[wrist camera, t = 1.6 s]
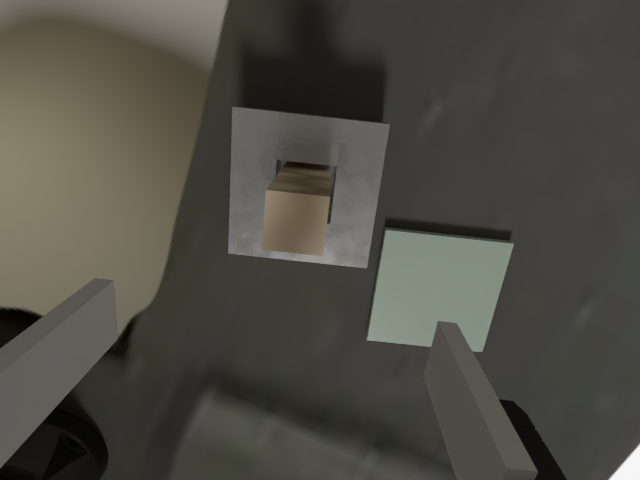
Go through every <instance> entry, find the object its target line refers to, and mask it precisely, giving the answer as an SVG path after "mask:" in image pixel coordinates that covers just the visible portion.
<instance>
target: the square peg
mask: <svg viewBox="0 0 640 480" xmlns="http://www.w3.org/2000/svg"><path fill="white" fill-rule="evenodd" d="M329 201H330V166H329V165H319V164H310V163H301V162H292V161H287V162H286V163H285V164H284V166H283V167H282V169H281V170H280V171H279V173H278V174H277V175H276V177H275V178H274V179H273V181H272V182H271V184H270V185H269V186H268V188H267V189H266V195H265V212H264V229H263V245H262V250H269V251H278V252H288V253H297V254H306V255H316V256H323V252H324V243H325V235H326V226H327V218H328V209H329Z"/></svg>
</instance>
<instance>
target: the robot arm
mask: <svg viewBox="0 0 640 480" xmlns="http://www.w3.org/2000/svg"><path fill="white" fill-rule="evenodd" d="M117 339H118V333H117V319H116V305H115V291H114V281H113V280H105V279H96V278H94V279H93V280H92V281H90V282H89V283H88V284H86V285H85V286H84V287H82V288H81V289H80V290H78V291H77V292H76V293H74V294H73V295H72V296H70V297H69V298H68V299H66V300H65V301H64V302H62V303H61V304H60V305H58V306H57V307H55V308H54V309H53V310H52V311H50V312H49V313H47V314H46V315H45V316H43V317H42V318H41V319H39V320H38V321H37V322H35V323H34V324H33V325H31V326H30V327H29V328H27V329H26V330H25V331H23V332H22V333H21V334H19V335H18V336H16V337H15V338H14V339H12V340H11V341H10V340H3V341H0V480H100V479H101V477H102V475H103V474H104V472H105V470H106V467H107V462H108V456H107V451H106V448H105V446H104V443H103V442H102V440H101V438H100V437H99V436H98V434H97V433H96V432H95V431H94V430H93V429H92V428H91V427H90V426H88V425H87V424H86V423H84V422H83V421H81V420H80V419H78V418H76V417H74V416H72V415H70V414H67V413H64V412H61V411H57V410H54V409H55V407H56V406H57V405H58V404H59V403H60V402H61V401H62V400H63V399H64V398H65V396H66V395H67V394H68V393H69V392H70V391H71V390H72V389H73V388H74V387H75V385H76V384H77V383H78V382H79V381H80V380H81V379H82V378H83V377H84V376H85V374H86V373H87V372H88V371H89V370H90V369H91V368H92V367H93V366H94V364H95V363H96V362H97V361H98V360H99V359H100V358H101V357H102V356H103V355H104V353H105V352H106V351H107V350H108V349H109V348H110V347H111V346H112V345H113V344H114V342H115V341H116V340H117ZM424 379H425V382H426V385H427V389H428V392H429V395H430V398H431V401H432V404H433V407H434V410H435V413H436V417H437V420H438V423H439V426H440V429H441V432H442V435H443V438H444V441H445V445H446V448H447V451H448V454H449V457H450V460H451V463H452V466H453V469H454V472H455V476H456V479H457V480H567V479H566V478H565V476H564V474H563V473H562V471H561V469H560V468H559V466H558V464H557V463H556V461H555V460H554V458H553V456H552V455H551V453H550V451H549V450H548V448H547V446H546V445H545V443H544V442H542V438H541V437H540V435H539V433H538V432H537V430H535V427H534V425H533V424H532V422H531V420H530V419H529V417H528V415H527V414H526V413H525V412H524V411H523V410H522V409H521V408H520V407H519V406H518V405H517V404H516V403H515V402H513V401H508V400H500V399H498V398H497V396H496V394H495V392H494V390H493V388H492V387H491V385H490V383H489V381H488V379H487V378H486V376H485V374H484V372H483V370H482V368H481V367H480V365H479V363H478V361H477V359H476V357H475V356H474V354H473V352H472V350H471V348H470V346H469V345H468V343H467V341H466V339H465V337H464V335H463V334H462V332H461V330H460V328H459V326H458V324H457V323H452V322H444V321H438V323H437V326H436V330H435V334H434V338H433V342H432V346H431V350H430V353H429V357H428V361H427V365H426V369H425V373H424Z"/></svg>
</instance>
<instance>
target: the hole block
mask: <svg viewBox="0 0 640 480" xmlns="http://www.w3.org/2000/svg"><path fill="white" fill-rule="evenodd" d="M389 126H390V124H388V123H385V122H381V121H372V120H363V119H354V118H345V117H336V116H327V115H318V114H309V113H300V112H291V111H282V110H274V109H265V108H256V107H247V106H237V107H232V141H231V177H230V212H229V248H228V253H229V254H238V255H248V256H257V257H267V258H276V259H285V260H295V261H304V262H313V263H323V264H332V265H341V266H351V267H360V268H367V264H368V258H369V251H370V245H371V239H372V233H373V226H374V220H375V214H376V208H377V201H378V195H379V189H380V183H381V176H382V170H383V164H384V158H385V151H386V145H387V139H388V133H389ZM287 161H292V162H301V163H310V164H319V165H329V166H330V201H329V209H328V218H327V226H326V235H325V243H324V252H323V256H316V255H306V254H297V253H288V252H278V251H269V250H262V245H263V229H264V212H265V195H266V189H267V188H268V186H269V185H270V184H271V182H272V181H273V179H274V178H275V177H276V175H277V174H278V173H279V171H280V170H281V169H282V167H283V166H284V164H285V163H286V162H287Z"/></svg>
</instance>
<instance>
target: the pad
mask: <svg viewBox="0 0 640 480" xmlns="http://www.w3.org/2000/svg"><path fill="white" fill-rule="evenodd" d="M513 245H514V244H513V243H512V242H511V241H508V240H499V239H489V238H480V237H471V236H462V235H452V234H443V233H434V232H425V231H416V230H406V229H397V228H388V227H385V228H384V234H383V240H382V246H381V252H380V258H379V263H378V269H377V275H376V281H375V287H374V293H373V299H372V305H371V310H370V316H369V322H368V328H367V334H366V337H367V340H371V341H380V342H390V343H399V344H409V345H419V346H428V347H431V346H432V342H433V338H434V334H435V330H436V326H437V323H438V321H444V322H452V323H457V324H458V326H459V328H460V330H461V332H462V334H463V335H464V337H465V339H466V341H467V343H468V345H469V346H470V348H471V350H472V351H476V352H482V351H483V348H484V344H485V341H486V338H487V334H488V331H489V327H490V324H491V320H492V317H493V314H494V310H495V307H496V303H497V300H498V297H499V293H500V290H501V286H502V283H503V279H504V276H505V273H506V269H507V266H508V262H509V259H510V255H511V252H512V249H513Z"/></svg>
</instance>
